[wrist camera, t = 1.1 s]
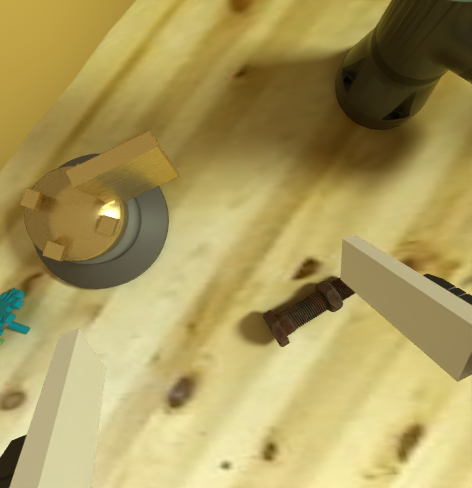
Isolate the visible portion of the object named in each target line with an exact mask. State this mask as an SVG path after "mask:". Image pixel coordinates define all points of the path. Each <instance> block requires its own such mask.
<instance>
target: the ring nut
mask: <svg viewBox="0 0 472 488" xmlns="http://www.w3.org/2000/svg"><path fill="white" fill-rule="evenodd" d="M176 177H178V175H177V173H176V170H175V168H174V166H173V164H172V163H171V161H170V160H169V158H168V157H167V155H166V154H165V153H164V151H163V150H162V148H161V147H160V145H159V144H158V142H157V141H156V139H155V138H154V136H153V135H152V133H151V132H150V131H148V132H146V133H144V134H142V135H140V136H138V137H136V138H134V139H131V140H129V141H127V142H125V143H123V144H121V145H119V146H117V147H115V148H113V149H111V150H109V151H107V152H105V153H102V154H100V155H98V156H96V157H94V158H92V159H90V160H88V161H86V162H84V163H82V164H77V165H76V166H67V167H62V168H58V169H56V170H53V171H51V172H50V173H48V174H46V175H45V176H44V177H42V178H41V179H40V180H39V181H38V182H37V183H36V184H35V186H34V187H33V189H32V190H30V189H27V188H26V190H25V192H24V195H23V197H22V200H21V202H20V205H21V206H24V207H25V214H24V217H25V225H26V229H27V231H28V234H29V236H30V238H31V240H32V241H33V242H34V244H35V245H36V246H37V247H38V248H39V249H40V250H41V251H43V256H46V257H49V258H52V259H55V260H58V261H64V260H67V261H83V260H93V259H97V258H99V257H102V256H104V255H106V254H107V253H109V252H110V251H112V250H113V249H114V248H115V247H116V246H117V245H118V244H119V242H120V241H121V240H122V238H123V236H124V234H125V232H126V229H127V226H128V220H129V211H128V205H127V201H128V200H130V199H133V198H135V197H137V196H139V195H141V194H143V193H145V192H147V191H149V190H151V189H153V188H155V187H157V186H159V185H161V184H163V183H165V182H167V181H169V180H171V179H173V178H176Z"/></svg>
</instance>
